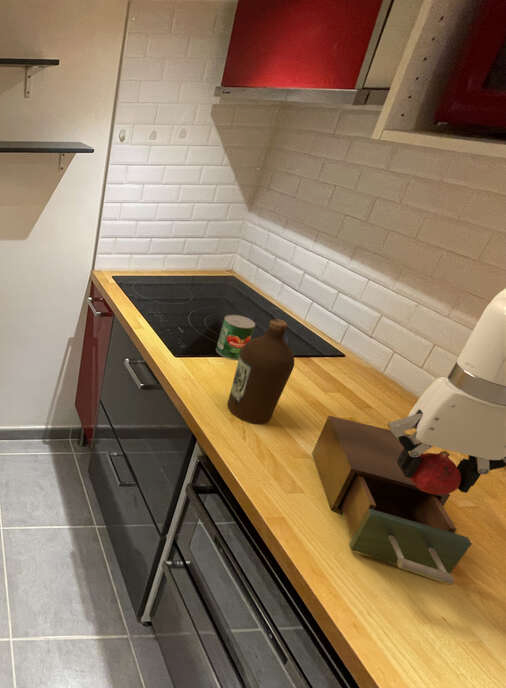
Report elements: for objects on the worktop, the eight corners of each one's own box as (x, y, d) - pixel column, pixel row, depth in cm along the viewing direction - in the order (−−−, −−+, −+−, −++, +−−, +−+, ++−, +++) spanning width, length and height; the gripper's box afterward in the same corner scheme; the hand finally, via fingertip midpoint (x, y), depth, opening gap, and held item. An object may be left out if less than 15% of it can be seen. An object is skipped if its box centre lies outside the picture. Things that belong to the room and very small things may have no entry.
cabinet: (422, 537, 79) (450, 495, 75) (330, 510, 84) (351, 468, 80) (389, 474, 92) (411, 435, 88) (311, 453, 97) (328, 415, 93)
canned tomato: (229, 344, 138) (238, 312, 134) (251, 357, 132) (262, 325, 127) (209, 348, 136) (218, 316, 131) (231, 362, 129) (241, 329, 124)
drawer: (464, 616, 66) (493, 578, 63) (362, 581, 71) (384, 544, 67) (408, 509, 83) (429, 474, 80) (328, 486, 88) (344, 452, 84)
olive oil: (265, 401, 113) (297, 314, 103) (280, 430, 103) (316, 337, 93) (220, 394, 115) (246, 308, 105) (229, 421, 106) (259, 329, 96)
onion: (453, 512, 67) (479, 473, 64) (403, 495, 70) (425, 457, 67) (441, 486, 72) (465, 448, 68) (395, 471, 74) (415, 434, 71)
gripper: (554, 385, 62) (490, 479, 70) (399, 355, 68) (355, 445, 76) (595, 418, 56) (520, 517, 63) (420, 382, 62) (370, 477, 70)
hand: (431, 477), depth 70 cm, fingers closed on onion, 5 cm apart
